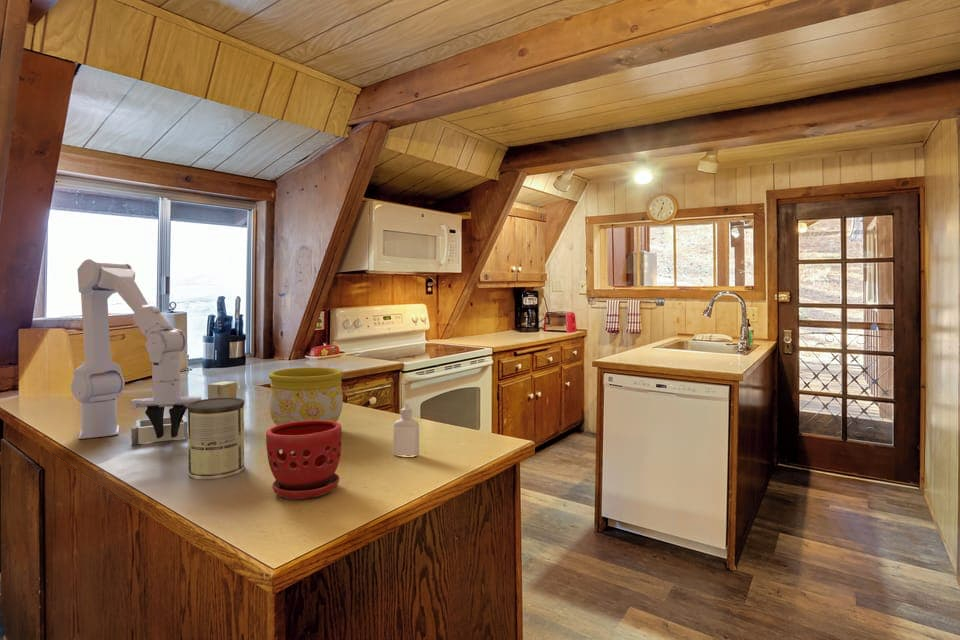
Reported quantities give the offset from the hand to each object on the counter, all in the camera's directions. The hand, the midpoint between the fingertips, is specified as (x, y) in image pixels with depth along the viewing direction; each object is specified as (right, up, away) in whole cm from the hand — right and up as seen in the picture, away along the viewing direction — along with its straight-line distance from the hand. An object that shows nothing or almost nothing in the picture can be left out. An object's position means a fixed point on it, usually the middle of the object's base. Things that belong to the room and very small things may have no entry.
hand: (167, 436), depth 123 cm
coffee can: (+22, -3, -19) cm, 29 cm away
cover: (-3, -1, +1) cm, 3 cm away
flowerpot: (+30, -2, +9) cm, 32 cm away
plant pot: (+43, -4, -29) cm, 51 cm away
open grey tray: (-5, -1, +6) cm, 8 cm away
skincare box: (+6, -1, +15) cm, 16 cm away
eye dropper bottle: (+58, -3, -7) cm, 59 cm away
